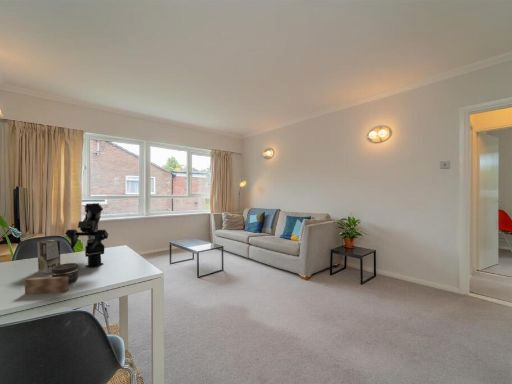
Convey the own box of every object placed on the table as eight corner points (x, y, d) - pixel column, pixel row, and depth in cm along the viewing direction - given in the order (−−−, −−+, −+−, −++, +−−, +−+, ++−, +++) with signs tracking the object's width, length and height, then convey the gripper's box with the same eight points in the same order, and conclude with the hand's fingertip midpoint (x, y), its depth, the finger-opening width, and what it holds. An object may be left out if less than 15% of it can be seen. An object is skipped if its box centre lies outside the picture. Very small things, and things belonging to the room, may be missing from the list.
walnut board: (25, 293, 100) (24, 279, 100) (29, 291, 102) (28, 278, 102) (65, 292, 102) (65, 278, 102) (68, 290, 104) (68, 276, 104)
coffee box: (61, 269, 129) (60, 240, 129) (46, 273, 124) (46, 243, 123) (52, 267, 133) (51, 239, 133) (37, 271, 127) (36, 241, 127)
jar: (80, 281, 113) (80, 265, 113) (52, 288, 106) (52, 271, 106) (76, 276, 120) (76, 261, 120) (50, 282, 113) (50, 266, 113)
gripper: (66, 214, 125) (53, 241, 115) (105, 215, 128) (96, 241, 119) (75, 225, 133) (64, 251, 124) (111, 225, 137) (103, 251, 127)
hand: (81, 248), depth 123 cm, fingers open, 9 cm apart
